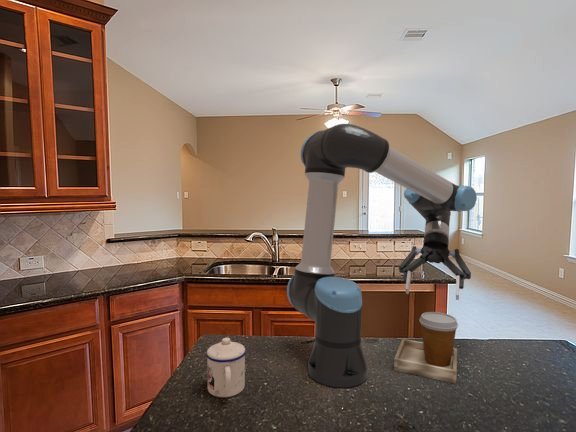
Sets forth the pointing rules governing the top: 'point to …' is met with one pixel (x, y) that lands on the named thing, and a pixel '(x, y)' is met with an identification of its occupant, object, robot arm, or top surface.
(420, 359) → the birch tray
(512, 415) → the top surface
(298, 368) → the top surface
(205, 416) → the top surface
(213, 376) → the teacup with lid
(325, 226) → the robot arm
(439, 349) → the disposable coffee cup
